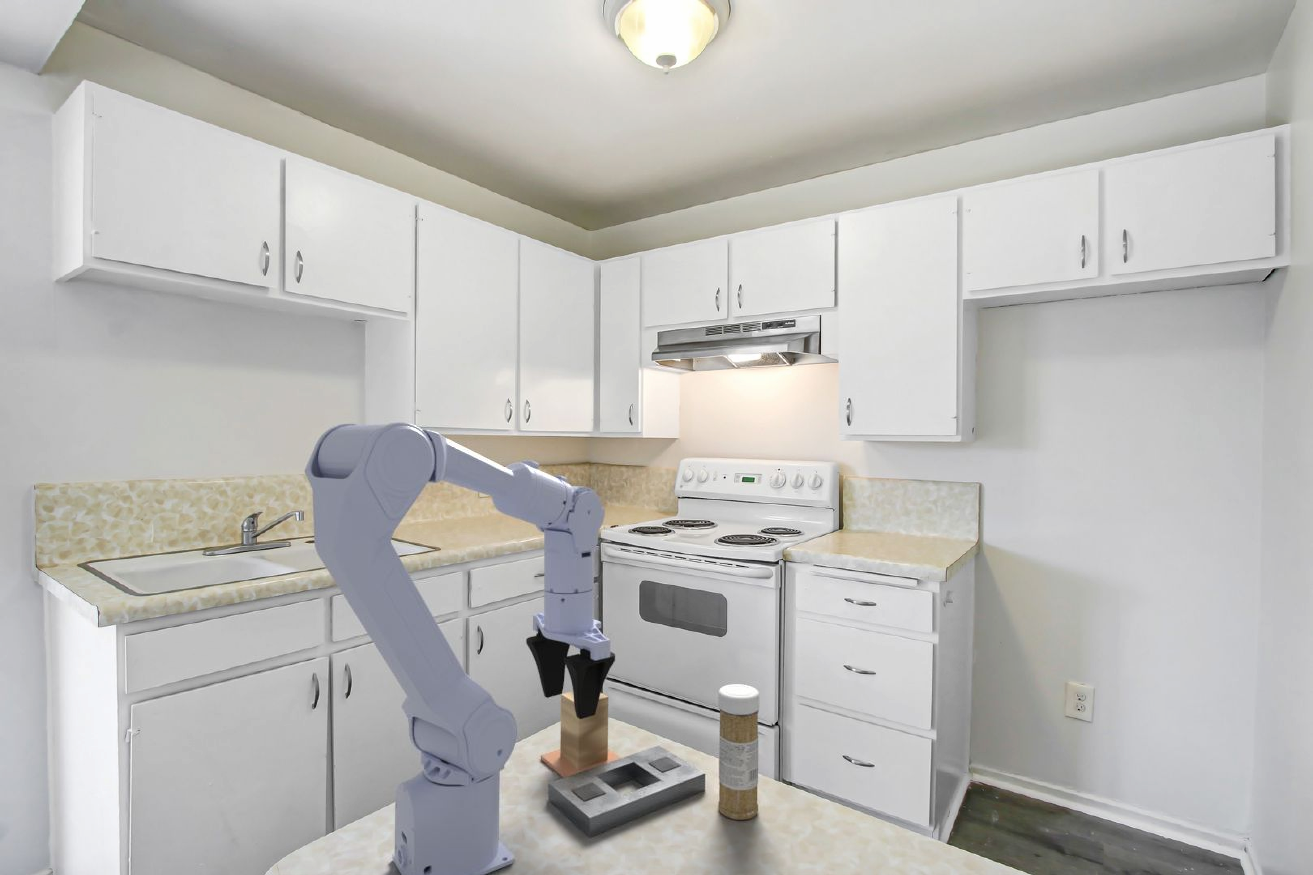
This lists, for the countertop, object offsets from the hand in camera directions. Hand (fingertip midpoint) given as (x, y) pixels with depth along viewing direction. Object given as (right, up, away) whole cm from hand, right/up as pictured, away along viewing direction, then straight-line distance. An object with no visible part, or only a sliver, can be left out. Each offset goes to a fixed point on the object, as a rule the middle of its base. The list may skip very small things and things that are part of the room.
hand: (569, 705), depth 77 cm
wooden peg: (+1, -10, +8) cm, 13 cm away
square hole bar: (+7, -11, 0) cm, 13 cm away
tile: (+1, -11, +8) cm, 13 cm away
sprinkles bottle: (+19, -11, -3) cm, 22 cm away
